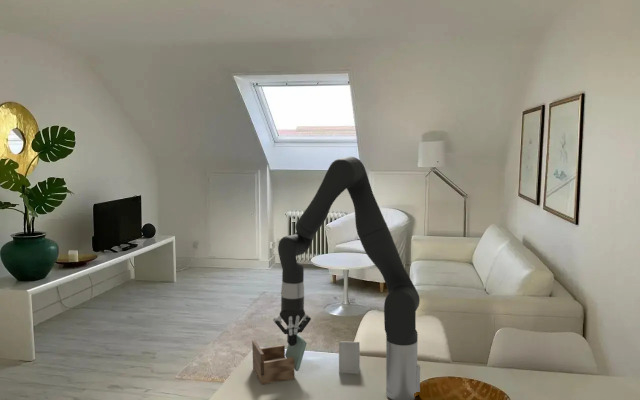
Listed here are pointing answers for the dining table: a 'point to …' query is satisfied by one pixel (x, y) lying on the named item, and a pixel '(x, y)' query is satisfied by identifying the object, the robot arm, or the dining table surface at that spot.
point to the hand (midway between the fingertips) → (291, 344)
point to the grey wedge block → (349, 357)
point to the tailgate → (296, 351)
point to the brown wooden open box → (272, 364)
